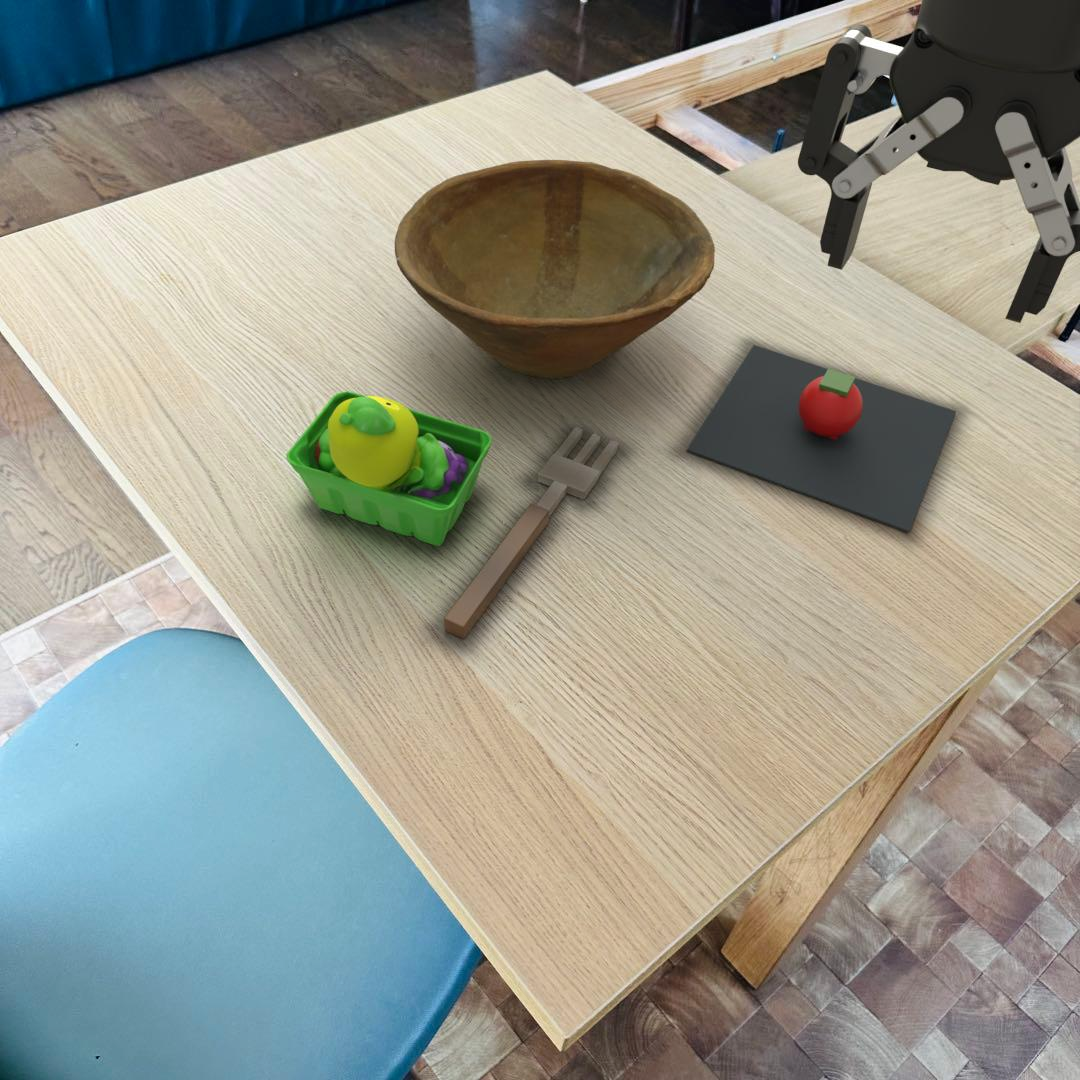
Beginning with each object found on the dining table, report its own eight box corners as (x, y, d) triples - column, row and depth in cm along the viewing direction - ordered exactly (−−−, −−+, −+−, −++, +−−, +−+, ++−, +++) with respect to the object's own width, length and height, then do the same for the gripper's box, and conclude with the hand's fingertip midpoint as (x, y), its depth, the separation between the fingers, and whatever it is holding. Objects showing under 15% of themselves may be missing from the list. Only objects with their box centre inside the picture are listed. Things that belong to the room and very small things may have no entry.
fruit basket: (497, 488, 70) (496, 355, 62) (442, 580, 64) (434, 448, 56) (347, 443, 72) (328, 310, 64) (282, 529, 67) (252, 394, 58)
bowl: (696, 453, 73) (719, 338, 66) (379, 424, 74) (366, 308, 66) (695, 278, 88) (714, 169, 80) (430, 256, 89) (424, 146, 81)
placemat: (955, 413, 77) (956, 410, 77) (908, 533, 68) (909, 531, 68) (753, 346, 82) (753, 344, 81) (686, 451, 73) (686, 449, 73)
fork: (573, 434, 74) (574, 421, 73) (618, 451, 73) (620, 438, 72) (428, 623, 62) (427, 611, 61) (480, 647, 61) (479, 634, 60)
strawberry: (861, 421, 75) (877, 372, 72) (844, 457, 73) (859, 408, 69) (804, 403, 77) (816, 354, 74) (785, 437, 74) (797, 388, 71)
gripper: (837, -102, 37) (758, 282, 49) (1266, -26, 33) (1065, 376, 45) (894, -150, 42) (809, 212, 54) (1278, -89, 37) (1092, 291, 49)
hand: (925, 286), depth 49 cm, fingers open, 8 cm apart
